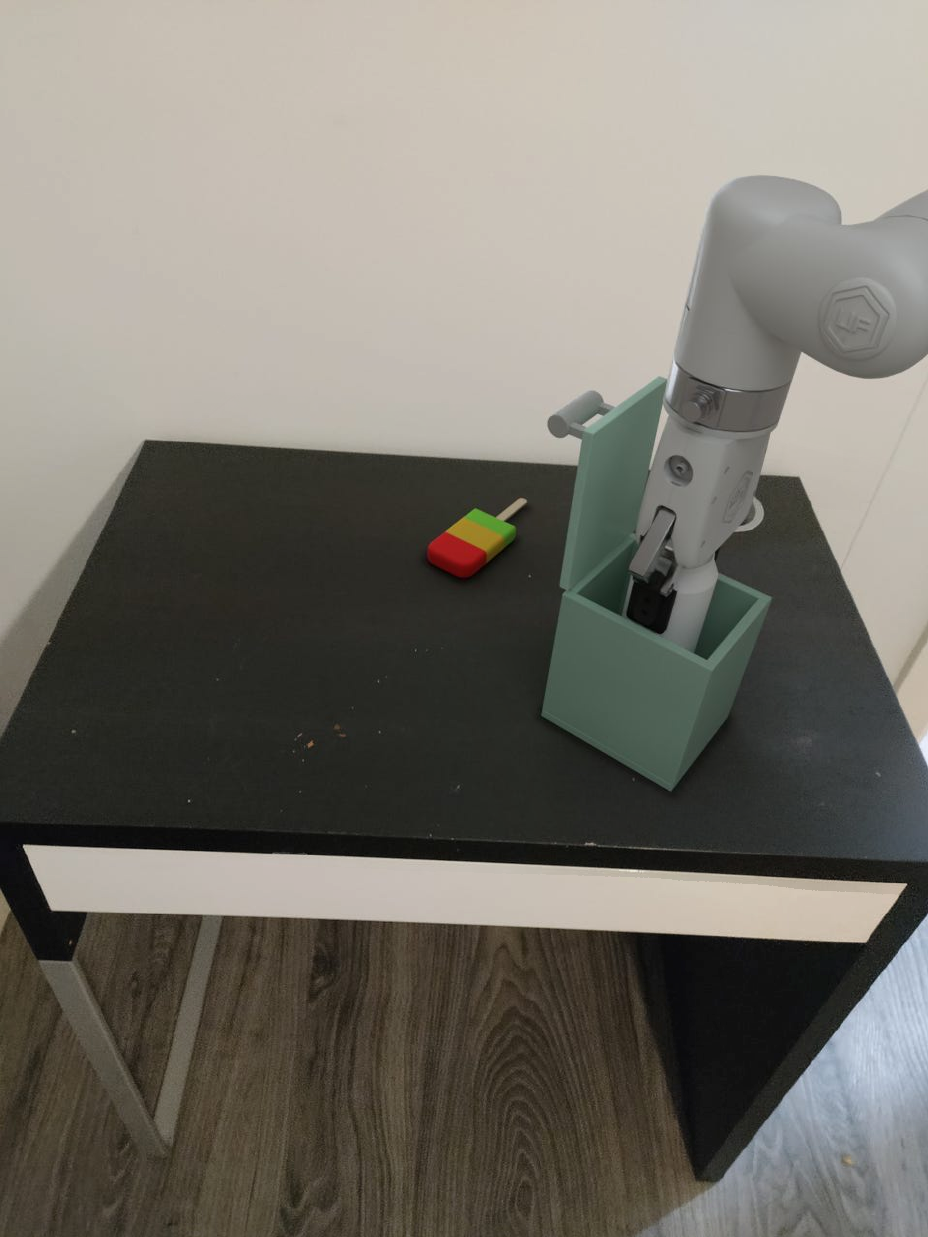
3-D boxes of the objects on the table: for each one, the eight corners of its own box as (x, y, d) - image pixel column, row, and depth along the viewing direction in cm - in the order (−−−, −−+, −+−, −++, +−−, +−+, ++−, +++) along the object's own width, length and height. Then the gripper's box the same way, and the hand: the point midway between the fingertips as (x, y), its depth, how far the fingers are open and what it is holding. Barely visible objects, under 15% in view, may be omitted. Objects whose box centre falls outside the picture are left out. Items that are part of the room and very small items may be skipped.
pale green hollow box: (727, 717, 81) (772, 597, 72) (670, 792, 75) (712, 671, 65) (604, 651, 86) (631, 531, 77) (540, 715, 80) (562, 593, 71)
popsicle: (421, 561, 95) (422, 546, 93) (502, 497, 104) (504, 483, 103) (465, 583, 92) (467, 568, 91) (544, 516, 102) (546, 502, 101)
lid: (668, 378, 68) (607, 356, 70) (593, 434, 61) (528, 407, 64) (636, 529, 77) (583, 505, 79) (567, 591, 70) (511, 563, 72)
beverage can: (691, 648, 78) (726, 533, 70) (683, 699, 73) (720, 582, 65) (618, 631, 79) (645, 515, 71) (606, 680, 74) (633, 563, 66)
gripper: (720, 465, 53) (656, 685, 65) (830, 363, 63) (758, 569, 75) (606, 419, 56) (566, 637, 68) (730, 329, 67) (676, 531, 79)
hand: (668, 599), depth 71 cm, fingers closed on beverage can, 6 cm apart
